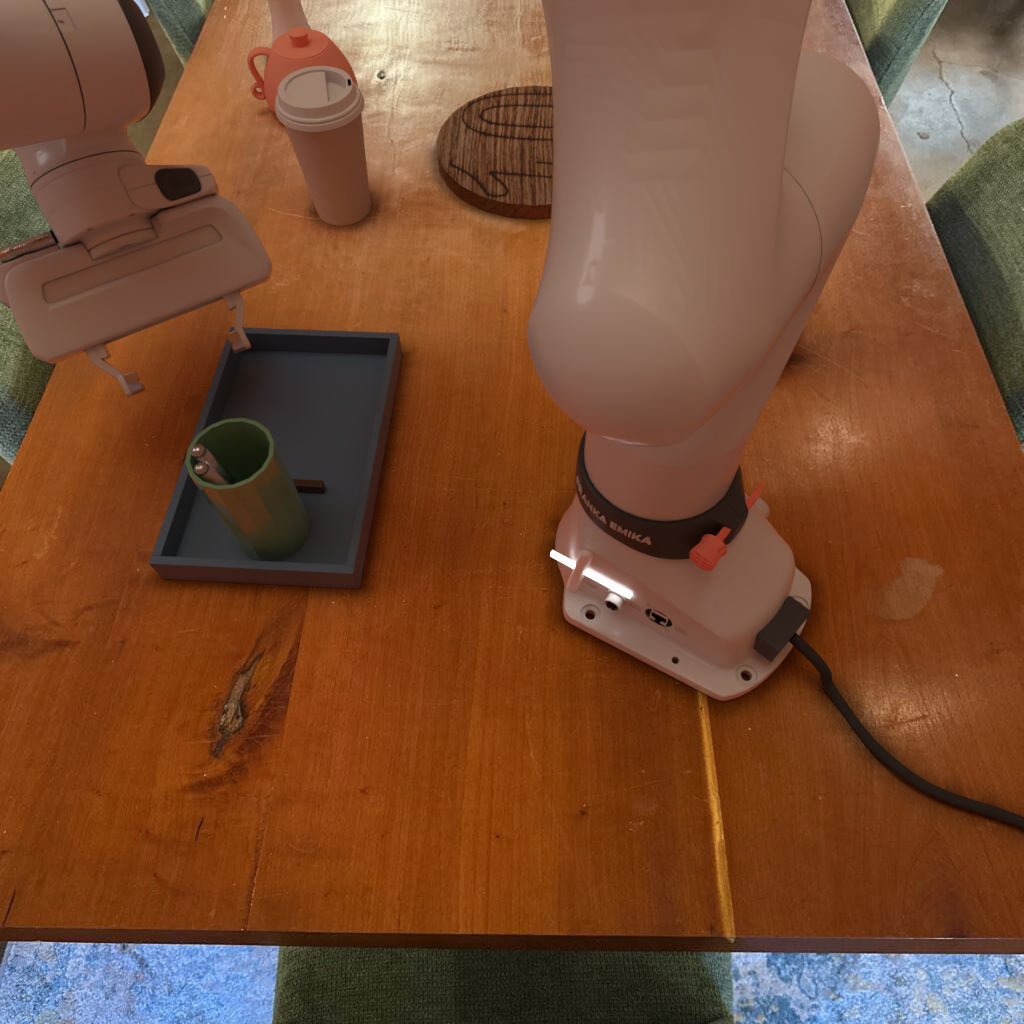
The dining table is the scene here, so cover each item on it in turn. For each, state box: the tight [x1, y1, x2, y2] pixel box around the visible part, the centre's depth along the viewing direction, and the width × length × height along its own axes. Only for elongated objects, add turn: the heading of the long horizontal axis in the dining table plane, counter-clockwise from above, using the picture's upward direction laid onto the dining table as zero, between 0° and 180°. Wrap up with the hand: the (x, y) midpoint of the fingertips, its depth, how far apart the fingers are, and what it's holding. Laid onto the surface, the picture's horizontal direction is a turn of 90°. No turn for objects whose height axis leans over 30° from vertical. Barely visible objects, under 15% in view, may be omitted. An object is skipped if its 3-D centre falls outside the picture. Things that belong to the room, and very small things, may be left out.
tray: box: [148, 326, 404, 590], centre depth 73 cm, size 28×18×3 cm, turn 176°
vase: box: [266, 0, 312, 49], centre depth 107 cm, size 8×8×10 cm
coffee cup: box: [274, 66, 372, 227], centre depth 87 cm, size 10×10×15 cm
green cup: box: [185, 418, 311, 562], centre depth 64 cm, size 7×7×12 cm
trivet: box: [435, 85, 553, 220], centre depth 97 cm, size 25×25×2 cm
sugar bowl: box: [246, 27, 359, 114], centre depth 100 cm, size 12×14×10 cm
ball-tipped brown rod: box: [194, 462, 232, 486], centre depth 63 cm, size 1×1×12 cm
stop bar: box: [292, 479, 326, 494], centre depth 71 cm, size 1×8×1 cm, turn 86°
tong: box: [191, 444, 238, 484], centre depth 64 cm, size 1×1×12 cm
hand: (191, 372), depth 65 cm, fingers open, 8 cm apart
